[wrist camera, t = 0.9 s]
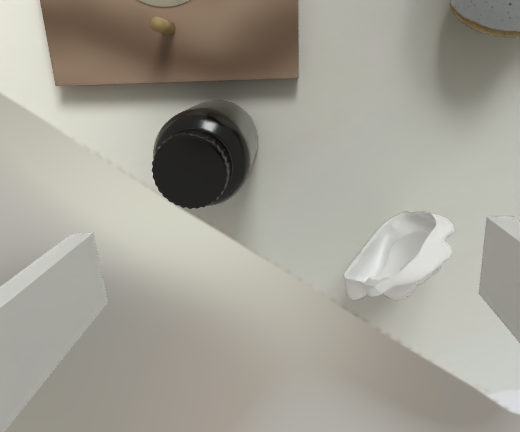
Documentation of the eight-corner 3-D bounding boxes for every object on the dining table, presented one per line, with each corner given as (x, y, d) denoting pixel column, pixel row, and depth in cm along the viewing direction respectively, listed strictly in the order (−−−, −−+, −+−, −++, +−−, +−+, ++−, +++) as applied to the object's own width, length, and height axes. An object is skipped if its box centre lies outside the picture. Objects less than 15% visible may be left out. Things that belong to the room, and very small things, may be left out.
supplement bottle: (169, 155, 38) (116, 191, 27) (201, 84, 36) (159, 91, 24) (237, 191, 39) (214, 242, 27) (273, 123, 36) (264, 148, 25)
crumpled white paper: (358, 289, 41) (377, 353, 32) (331, 255, 40) (342, 311, 31) (451, 230, 38) (501, 281, 29) (424, 192, 37) (467, 233, 28)
